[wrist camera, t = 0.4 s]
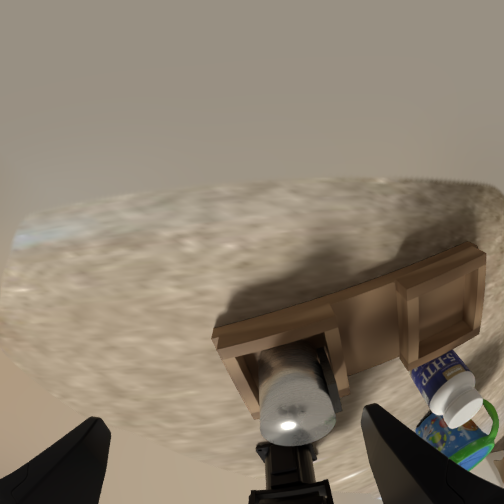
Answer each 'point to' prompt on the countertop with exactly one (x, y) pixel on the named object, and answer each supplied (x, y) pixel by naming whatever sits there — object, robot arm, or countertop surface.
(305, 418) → the clear jar
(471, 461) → the snack cup
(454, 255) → the holder
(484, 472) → the gable box
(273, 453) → the robot arm
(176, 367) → the countertop surface
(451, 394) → the pill bottle
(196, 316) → the countertop surface
